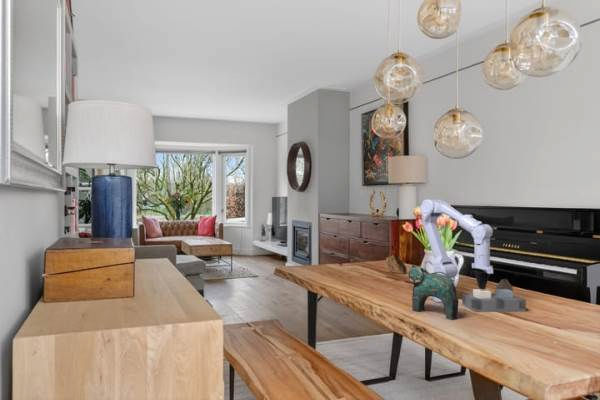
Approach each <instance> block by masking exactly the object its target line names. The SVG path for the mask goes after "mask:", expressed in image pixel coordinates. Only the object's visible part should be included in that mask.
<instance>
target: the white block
mask: <svg viewBox="0 0 600 400" xmlns="http://www.w3.org/2000/svg"><path fill="white" fill-rule="evenodd" d="M491 293H492V291H490V290H488V289H486V288H485V289H479V288H478V289H477V288H476V289H475V288H473V289H472V294H473V296H474V297H476V298H491Z"/></svg>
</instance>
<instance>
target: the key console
mask: <svg viewBox="0 0 600 400" xmlns="http://www.w3.org/2000/svg"><path fill="white" fill-rule="evenodd" d="M461 297H462V299H461V300H462V302H461V303H462V305H463V306H464V307H466V308H467V309H469V310H471V311H472V312H474V313H490V312H491V313H492V312H493V313H497V312H499V313H505V312H507V313H508V312H512V313H514V312H518V311H526V309H527V307H526V305H527V304H526V299H524V298H522V297H520V296H516V295H515V294H513V298H499V297H497V296H495V292H494V293H492V292H491V298H476V297H474V296H473V293H462V294H461ZM526 312H527V311H526Z"/></svg>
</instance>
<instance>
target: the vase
mask: <svg viewBox="0 0 600 400" xmlns="http://www.w3.org/2000/svg"><path fill="white" fill-rule="evenodd" d="M495 289H508V290H510V291H513V292H514V289H513V286H512V284H510V282H509V280H508V279H507V278H503V279H501V280H500V281H499V283H498V284H497V285H496V287H495Z"/></svg>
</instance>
